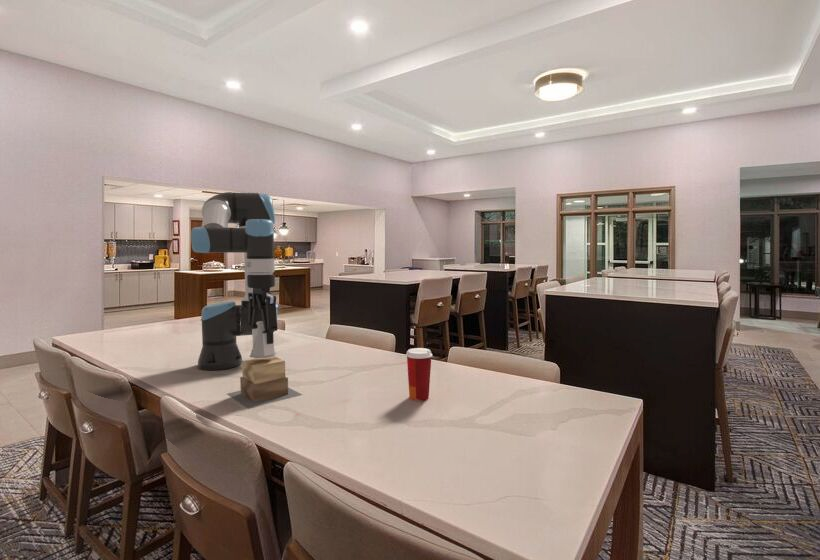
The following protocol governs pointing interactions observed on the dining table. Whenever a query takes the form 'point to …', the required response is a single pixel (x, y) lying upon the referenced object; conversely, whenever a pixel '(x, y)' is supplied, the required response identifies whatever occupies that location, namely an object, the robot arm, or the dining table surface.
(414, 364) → the paper cup
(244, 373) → the oak block
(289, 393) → the grey mat
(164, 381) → the dining table surface
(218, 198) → the robot arm
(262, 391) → the walnut block
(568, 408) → the dining table surface
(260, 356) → the flask
